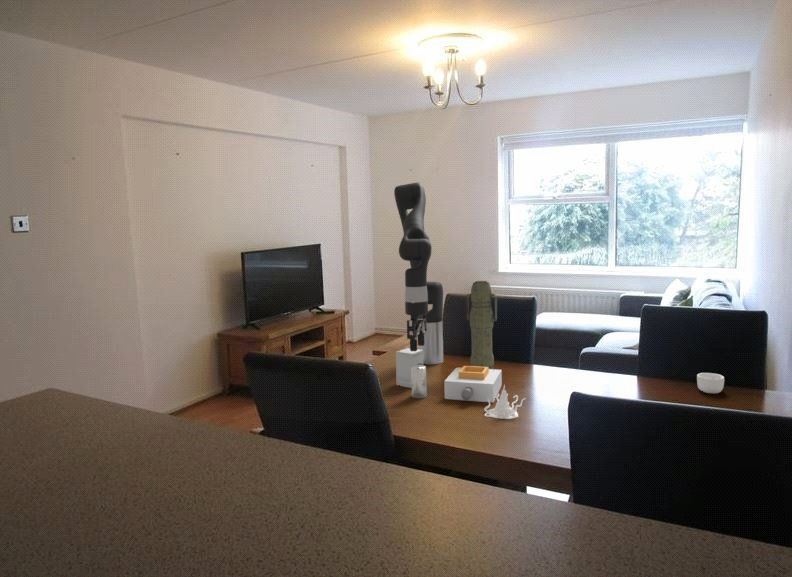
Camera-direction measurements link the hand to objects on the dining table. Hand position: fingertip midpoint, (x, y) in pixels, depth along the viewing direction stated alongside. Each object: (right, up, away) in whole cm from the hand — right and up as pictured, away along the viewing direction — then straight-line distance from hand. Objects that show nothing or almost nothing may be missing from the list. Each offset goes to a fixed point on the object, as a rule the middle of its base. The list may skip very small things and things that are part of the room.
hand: (417, 348), depth 183 cm
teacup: (+96, -14, -2) cm, 97 cm away
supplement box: (-2, -15, +15) cm, 21 cm away
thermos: (+26, -13, +30) cm, 42 cm away
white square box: (+19, -16, +2) cm, 24 cm away
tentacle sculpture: (+25, -18, -18) cm, 36 cm away
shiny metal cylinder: (+1, -16, +2) cm, 16 cm away
